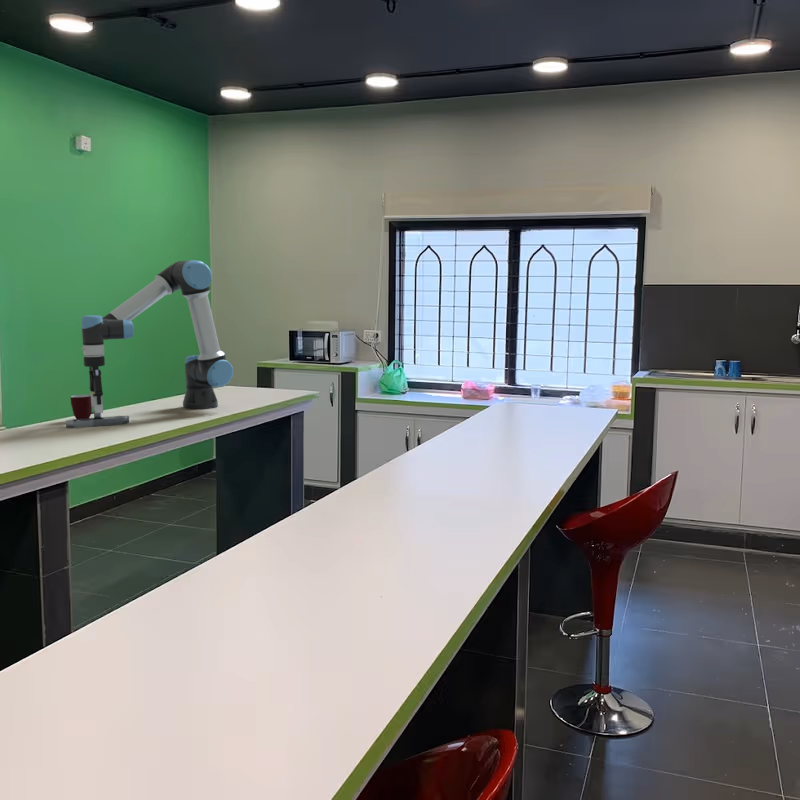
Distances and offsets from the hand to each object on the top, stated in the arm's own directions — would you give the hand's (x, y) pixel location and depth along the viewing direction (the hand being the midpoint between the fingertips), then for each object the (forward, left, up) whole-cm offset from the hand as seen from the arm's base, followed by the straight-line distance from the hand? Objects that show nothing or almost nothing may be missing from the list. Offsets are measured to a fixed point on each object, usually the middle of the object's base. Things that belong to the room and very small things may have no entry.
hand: (97, 410), depth 306 cm
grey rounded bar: (0, 0, -6) cm, 6 cm away
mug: (+3, -14, -6) cm, 15 cm away
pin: (0, 0, -6) cm, 6 cm away
